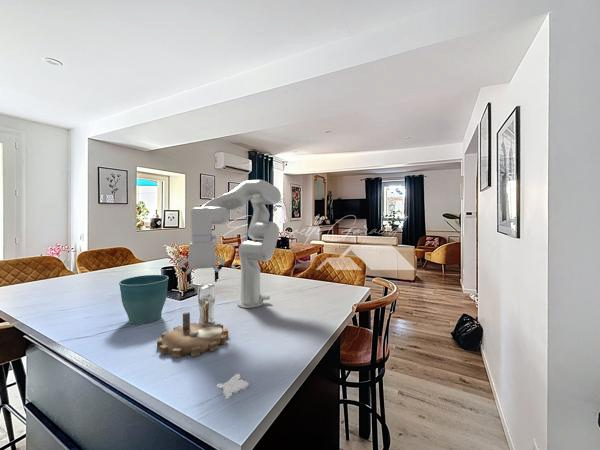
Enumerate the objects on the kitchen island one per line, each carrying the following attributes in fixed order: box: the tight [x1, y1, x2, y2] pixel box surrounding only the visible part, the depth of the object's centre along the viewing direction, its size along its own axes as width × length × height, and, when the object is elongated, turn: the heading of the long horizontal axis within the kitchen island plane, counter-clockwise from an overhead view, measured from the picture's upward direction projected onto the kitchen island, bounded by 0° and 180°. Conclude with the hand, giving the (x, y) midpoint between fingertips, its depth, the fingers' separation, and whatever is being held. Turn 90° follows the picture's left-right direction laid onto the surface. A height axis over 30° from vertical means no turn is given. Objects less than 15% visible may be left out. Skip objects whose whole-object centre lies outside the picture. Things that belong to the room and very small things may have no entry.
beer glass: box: [197, 283, 216, 324], centre depth 112 cm, size 7×7×15 cm
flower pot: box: [118, 274, 169, 325], centre depth 114 cm, size 18×18×17 cm
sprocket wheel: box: [156, 311, 229, 358], centre depth 94 cm, size 23×23×8 cm
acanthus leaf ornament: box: [216, 372, 249, 400], centre depth 69 cm, size 8×7×2 cm
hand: (203, 282), depth 107 cm, fingers open, 9 cm apart
